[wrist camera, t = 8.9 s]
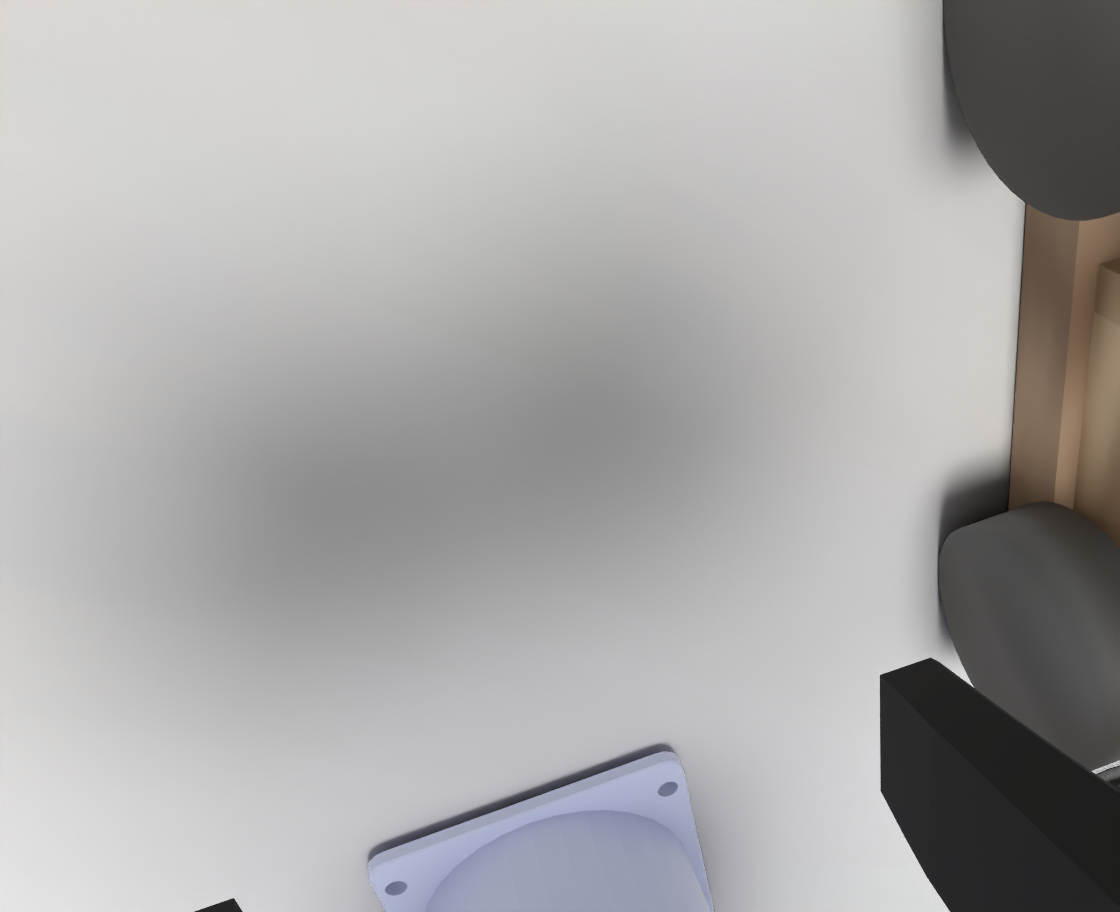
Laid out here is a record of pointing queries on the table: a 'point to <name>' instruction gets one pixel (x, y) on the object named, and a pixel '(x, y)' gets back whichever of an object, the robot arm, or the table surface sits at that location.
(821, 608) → the table surface
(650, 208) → the table surface
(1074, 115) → the chassis
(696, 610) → the table surface
